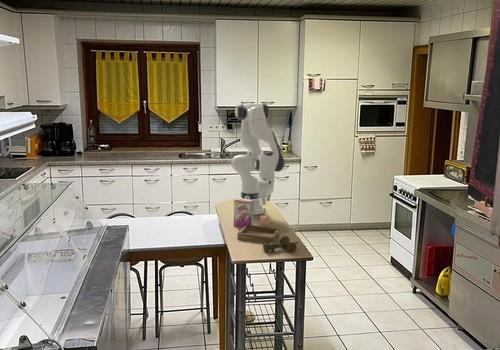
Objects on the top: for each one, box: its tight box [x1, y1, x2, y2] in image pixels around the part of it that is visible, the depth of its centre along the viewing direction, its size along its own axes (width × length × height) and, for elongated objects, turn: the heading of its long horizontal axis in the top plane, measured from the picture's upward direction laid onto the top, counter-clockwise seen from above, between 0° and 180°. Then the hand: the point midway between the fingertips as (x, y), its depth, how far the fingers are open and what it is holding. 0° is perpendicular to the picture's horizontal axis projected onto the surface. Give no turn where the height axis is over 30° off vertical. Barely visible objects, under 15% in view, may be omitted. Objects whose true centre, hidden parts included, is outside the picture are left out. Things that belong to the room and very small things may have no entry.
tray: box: [236, 224, 281, 244], centre depth 251 cm, size 16×20×4 cm
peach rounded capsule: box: [259, 214, 271, 228], centre depth 263 cm, size 6×6×8 cm
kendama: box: [262, 235, 300, 253], centre depth 233 cm, size 6×10×20 cm
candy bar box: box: [233, 197, 255, 228], centre depth 268 cm, size 11×5×16 cm, turn 71°
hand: (266, 202), depth 260 cm, fingers open, 8 cm apart
